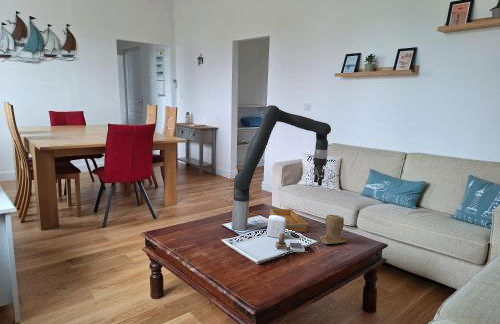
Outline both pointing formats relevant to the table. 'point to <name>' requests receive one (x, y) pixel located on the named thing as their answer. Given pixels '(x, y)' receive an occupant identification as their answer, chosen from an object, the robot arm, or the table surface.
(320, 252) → the marked square
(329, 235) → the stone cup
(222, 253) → the table surface
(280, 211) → the tray
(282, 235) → the hand stamp
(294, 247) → the ink pad
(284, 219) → the photo printer
